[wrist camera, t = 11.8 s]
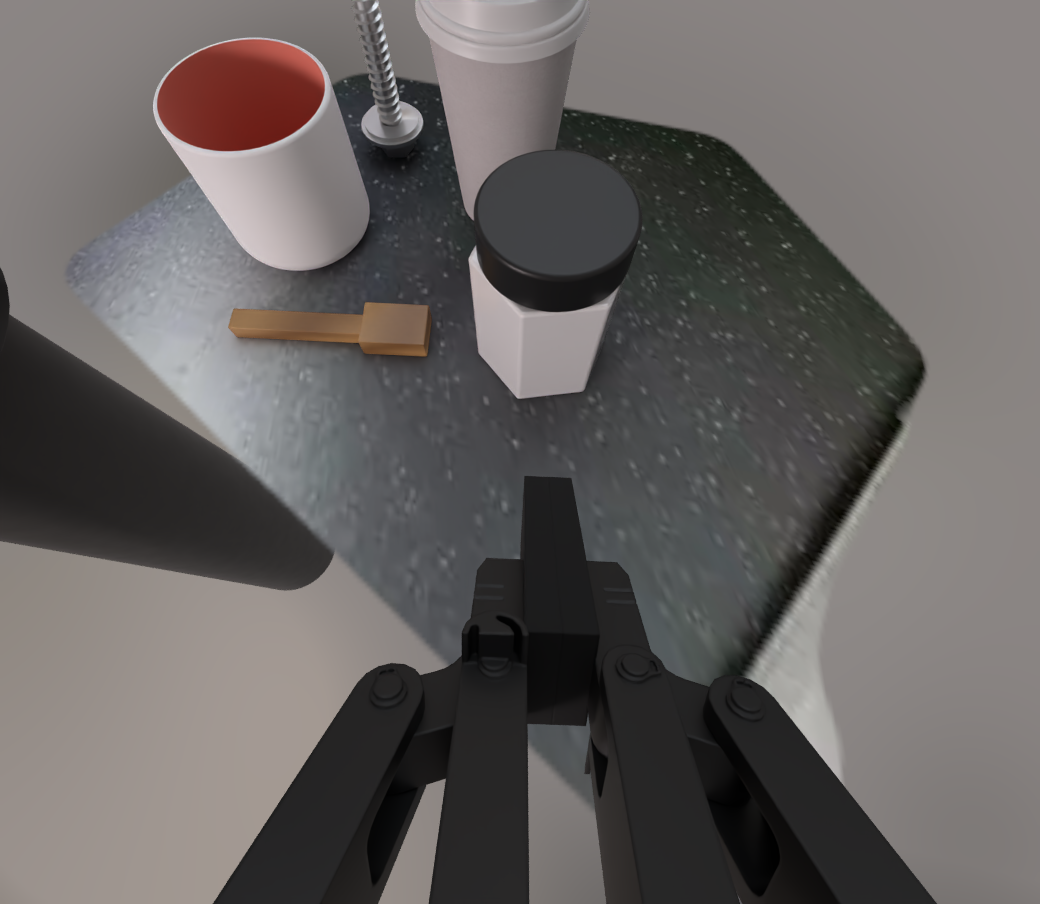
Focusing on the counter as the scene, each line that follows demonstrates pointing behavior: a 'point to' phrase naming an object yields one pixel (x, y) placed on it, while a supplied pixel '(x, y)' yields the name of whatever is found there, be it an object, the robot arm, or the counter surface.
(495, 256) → the jar
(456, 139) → the coffee cup
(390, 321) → the brown wooden bar
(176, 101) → the cup
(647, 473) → the counter surface
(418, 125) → the screw
